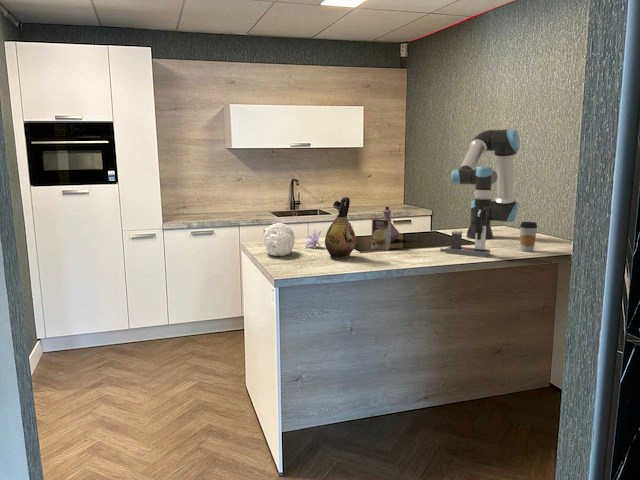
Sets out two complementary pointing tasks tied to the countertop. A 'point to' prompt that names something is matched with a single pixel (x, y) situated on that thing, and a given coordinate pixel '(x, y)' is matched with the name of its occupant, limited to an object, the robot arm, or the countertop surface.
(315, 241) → the water lily
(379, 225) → the coffee box
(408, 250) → the countertop surface
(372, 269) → the countertop surface
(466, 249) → the pdu strip
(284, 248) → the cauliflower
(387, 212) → the flask
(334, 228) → the ceramic jug
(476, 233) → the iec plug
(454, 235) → the twin plug
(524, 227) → the coffee cup
